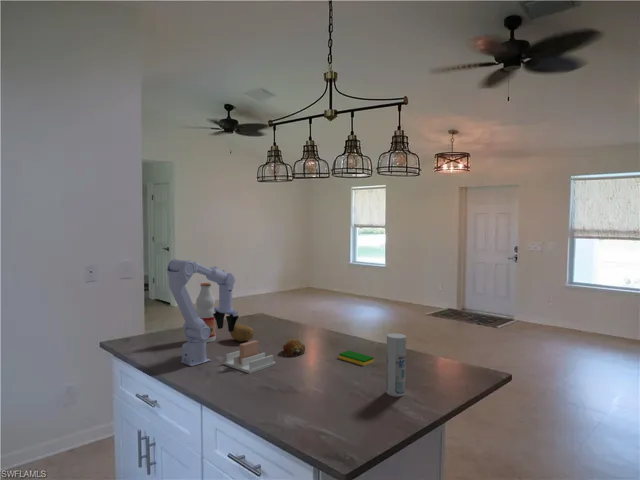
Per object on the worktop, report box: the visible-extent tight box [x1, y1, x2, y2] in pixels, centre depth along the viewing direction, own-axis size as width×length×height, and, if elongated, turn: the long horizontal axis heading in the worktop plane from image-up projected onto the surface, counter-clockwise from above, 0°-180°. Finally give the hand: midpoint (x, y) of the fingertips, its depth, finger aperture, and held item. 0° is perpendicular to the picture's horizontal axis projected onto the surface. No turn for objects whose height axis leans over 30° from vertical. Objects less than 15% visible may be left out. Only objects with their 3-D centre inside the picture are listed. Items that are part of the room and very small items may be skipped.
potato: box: [229, 323, 255, 342], centre depth 213 cm, size 10×14×8 cm
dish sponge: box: [338, 350, 375, 367], centre depth 186 cm, size 7×14×2 cm, turn 46°
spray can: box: [385, 332, 407, 398], centre depth 151 cm, size 6×6×20 cm
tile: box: [239, 339, 260, 364], centre depth 179 cm, size 8×2×8 cm, turn 140°
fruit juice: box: [195, 282, 217, 344], centre depth 213 cm, size 9×9×28 cm
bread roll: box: [282, 338, 306, 357], centre depth 196 cm, size 10×10×8 cm
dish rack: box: [223, 350, 277, 374], centre depth 179 cm, size 14×16×4 cm
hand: (225, 329), depth 195 cm, fingers open, 7 cm apart
